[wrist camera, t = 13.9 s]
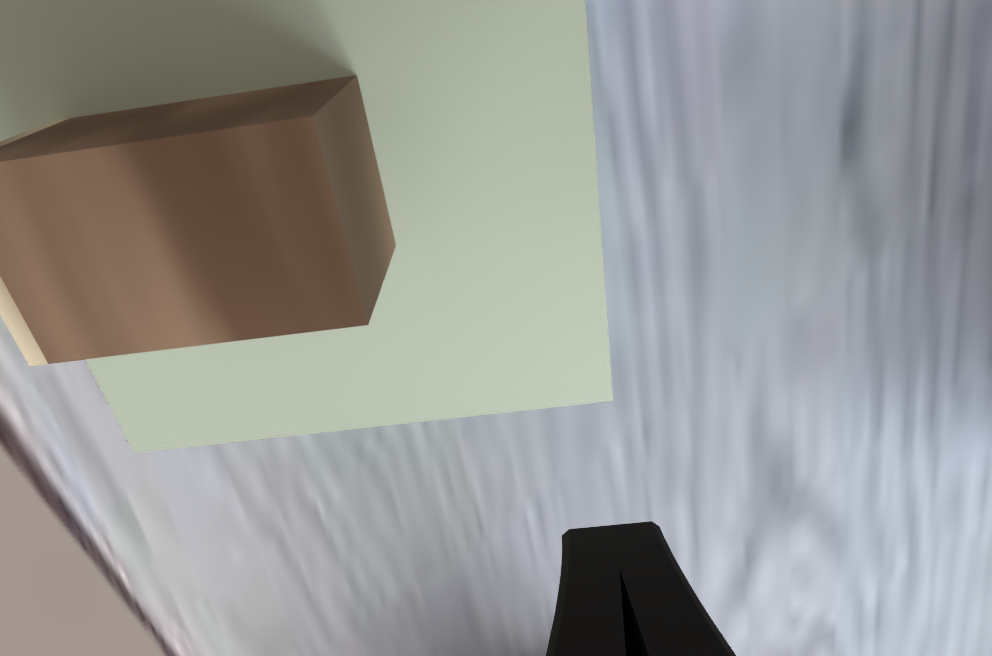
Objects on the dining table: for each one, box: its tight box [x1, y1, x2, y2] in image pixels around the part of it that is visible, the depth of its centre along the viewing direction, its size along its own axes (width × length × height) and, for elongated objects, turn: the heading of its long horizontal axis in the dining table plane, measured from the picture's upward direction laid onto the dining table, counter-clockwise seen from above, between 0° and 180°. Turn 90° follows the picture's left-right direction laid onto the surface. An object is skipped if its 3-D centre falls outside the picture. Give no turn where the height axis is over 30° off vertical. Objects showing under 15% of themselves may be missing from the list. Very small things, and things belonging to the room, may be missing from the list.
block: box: [0, 75, 396, 366], centre depth 14 cm, size 4×4×7 cm
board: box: [0, 0, 613, 453], centre depth 17 cm, size 14×14×2 cm
